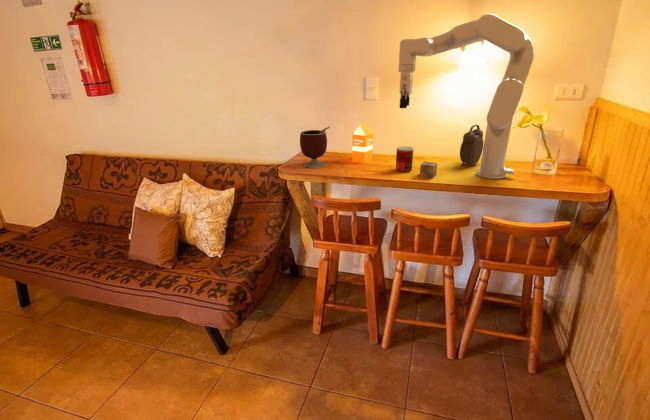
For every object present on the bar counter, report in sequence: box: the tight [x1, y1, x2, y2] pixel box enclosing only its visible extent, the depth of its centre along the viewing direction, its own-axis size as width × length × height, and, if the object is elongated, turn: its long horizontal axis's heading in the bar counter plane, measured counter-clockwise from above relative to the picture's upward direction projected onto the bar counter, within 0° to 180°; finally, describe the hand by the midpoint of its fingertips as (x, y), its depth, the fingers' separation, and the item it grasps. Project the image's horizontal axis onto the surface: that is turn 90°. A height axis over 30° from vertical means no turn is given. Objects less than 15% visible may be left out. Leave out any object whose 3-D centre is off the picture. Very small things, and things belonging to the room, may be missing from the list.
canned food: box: [395, 146, 414, 173], centre depth 170 cm, size 8×8×11 cm
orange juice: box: [351, 121, 374, 164], centre depth 187 cm, size 8×9×20 cm
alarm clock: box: [459, 124, 484, 167], centre depth 175 cm, size 15×7×20 cm, turn 135°
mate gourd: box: [299, 126, 330, 169], centre depth 181 cm, size 16×14×20 cm
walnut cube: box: [419, 160, 438, 180], centre depth 162 cm, size 6×6×6 cm
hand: (404, 106), depth 169 cm, fingers open, 9 cm apart
